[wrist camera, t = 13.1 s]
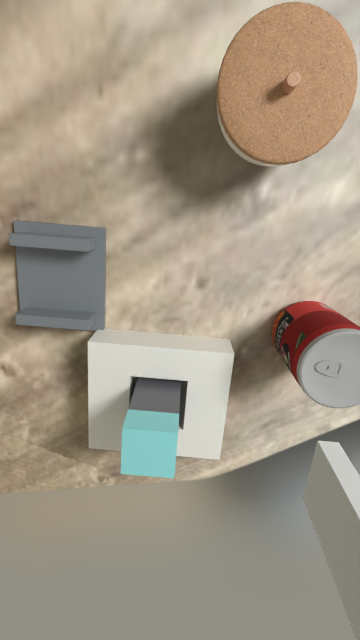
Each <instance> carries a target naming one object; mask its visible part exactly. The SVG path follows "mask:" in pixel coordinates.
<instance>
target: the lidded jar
mask: <svg viewBox="0 0 360 640" xmlns="http://www.w3.org/2000/svg"><path fill="white" fill-rule="evenodd" d="M356 87H357V62H356V56H355V52H354V49H353V45H352V42H351V40H350V38H349V36H348V34H347V32H346V31H345V29H344V28H343V27H342V25H341V24H340V23H339V21H337V20H336V19H335V18H334V17H333V16H332V15H331V14H330V13H328V12H326V11H325V10H323V9H322V8H320V7H317V6H314V5H311V4H308V3H301V2H288V3H282V4H278V5H274V6H272V7H270V8H267V9H265V10H263V11H262V12H260V13H258V14H257V15H255V16H254V17H253V18H251V19H250V20H249V21H248V22H247V23H246V24H245V25H244V26H243V27H242V28H241V29H240V30H239V32H238V33H237V34H236V35H235V37H234V38H233V40H232V42H231V43H230V45H229V47H228V49H227V51H226V53H225V56H224V58H223V61H222V64H221V68H220V71H219V77H218V84H217V114H218V120H219V124H220V128H221V131H222V133H223V135H224V138H225V140H226V141H227V143H228V144H229V146H230V147H231V148H232V149H233V150H234V151H235V153H237V154H238V155H239V156H240V157H242V158H243V159H245V160H247V161H248V162H250V163H253V164H256V165H260V166H282V165H287V164H290V163H295V162H298V161H300V160H303V159H306V158H308V157H309V156H311V155H313V154H315V153H317V152H318V151H319V150H321V149H322V148H323V147H325V146H326V145H327V144H328V143H329V142H330V141H331V140H332V139H333V138H334V137H335V135H336V134H337V133H338V131H339V130H340V129H341V127H342V126H343V124H344V122H345V120H346V119H347V117H348V115H349V112H350V110H351V107H352V105H353V101H354V97H355V93H356Z"/></svg>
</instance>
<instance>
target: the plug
mask: <svg viewBox="0 0 360 640" xmlns="http://www.w3.org/2000/svg"><path fill="white" fill-rule="evenodd" d="M180 391H181V380H170V379H158V378H146V377H138V380H137V383H136V386H135V389H134V393H133V396H132V399H131V402H130V405H129V408H128V411H127V415H126V418H125V421H124V424H123V427H122V450H121V474H130V475H141V476H153V477H165V478H174V474H175V463H176V452H177V441H178V428H179V410H180Z"/></svg>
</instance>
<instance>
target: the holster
mask: <svg viewBox="0 0 360 640" xmlns="http://www.w3.org/2000/svg"><path fill="white" fill-rule="evenodd" d="M13 222H14V233H9V241H10V245H12V246H15V249H16V263H17V276H18V290H19V303H20V312H18V313H16V314H15V317H16V325H28V326H40V327H52V328H63V329H75V330H87V331H88V330H92V331H97V330H104V329H105V283H106V228H100V227H88V226H76V225H64V224H52V223H40V222H28V221H13Z"/></svg>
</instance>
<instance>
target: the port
mask: <svg viewBox="0 0 360 640" xmlns="http://www.w3.org/2000/svg"><path fill="white" fill-rule="evenodd" d="M233 361H234V351H233V348H232V344H231V341H230V339H224V338H212V337H200V336H188V335H176V334H164V333H153V332H141V331H129V330H117V329H104V330H97V331H96V332H95V333H94V334H93V336H92V337H91V338H90V339H89V341H88V431H89V448H91V449H102V450H114V451H121V450H122V427H123V424H124V421H125V418H126V415H127V411H128V408H129V405H130V402H131V399H132V396H133V393H134V389H135V386H136V383H137V380H138V377H146V378H158V379H170V380H181V391H180V410H179V428H178V441H177V452H176V456H184V457H196V458H208V459H220V453H221V446H222V439H223V432H224V425H225V418H226V411H227V404H228V397H229V390H230V382H231V375H232V368H233Z"/></svg>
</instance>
